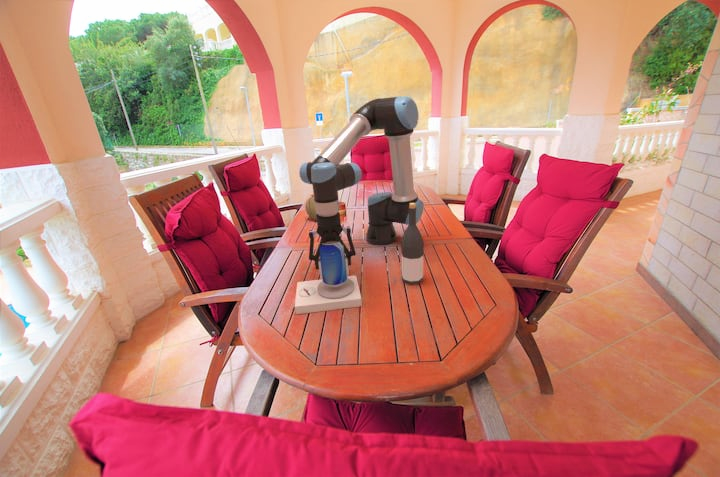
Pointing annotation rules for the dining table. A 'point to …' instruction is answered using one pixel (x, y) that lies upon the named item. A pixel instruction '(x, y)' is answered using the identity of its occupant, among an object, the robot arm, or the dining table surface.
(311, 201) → the cantaloupe
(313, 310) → the scale
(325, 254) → the beer can
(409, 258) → the wine bottle
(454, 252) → the dining table surface
